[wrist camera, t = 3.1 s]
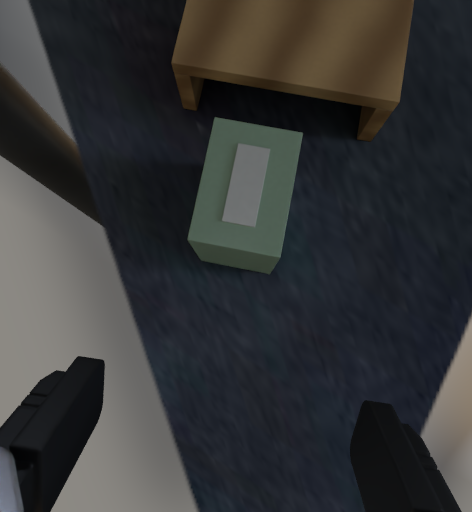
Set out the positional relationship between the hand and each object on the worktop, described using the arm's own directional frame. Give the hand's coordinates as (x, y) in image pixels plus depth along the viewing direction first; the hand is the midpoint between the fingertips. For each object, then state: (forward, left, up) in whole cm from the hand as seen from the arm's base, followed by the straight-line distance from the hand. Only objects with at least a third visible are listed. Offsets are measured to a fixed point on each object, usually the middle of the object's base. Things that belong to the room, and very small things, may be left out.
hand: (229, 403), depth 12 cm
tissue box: (-1, +11, -18) cm, 21 cm away
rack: (0, +26, -18) cm, 31 cm away
